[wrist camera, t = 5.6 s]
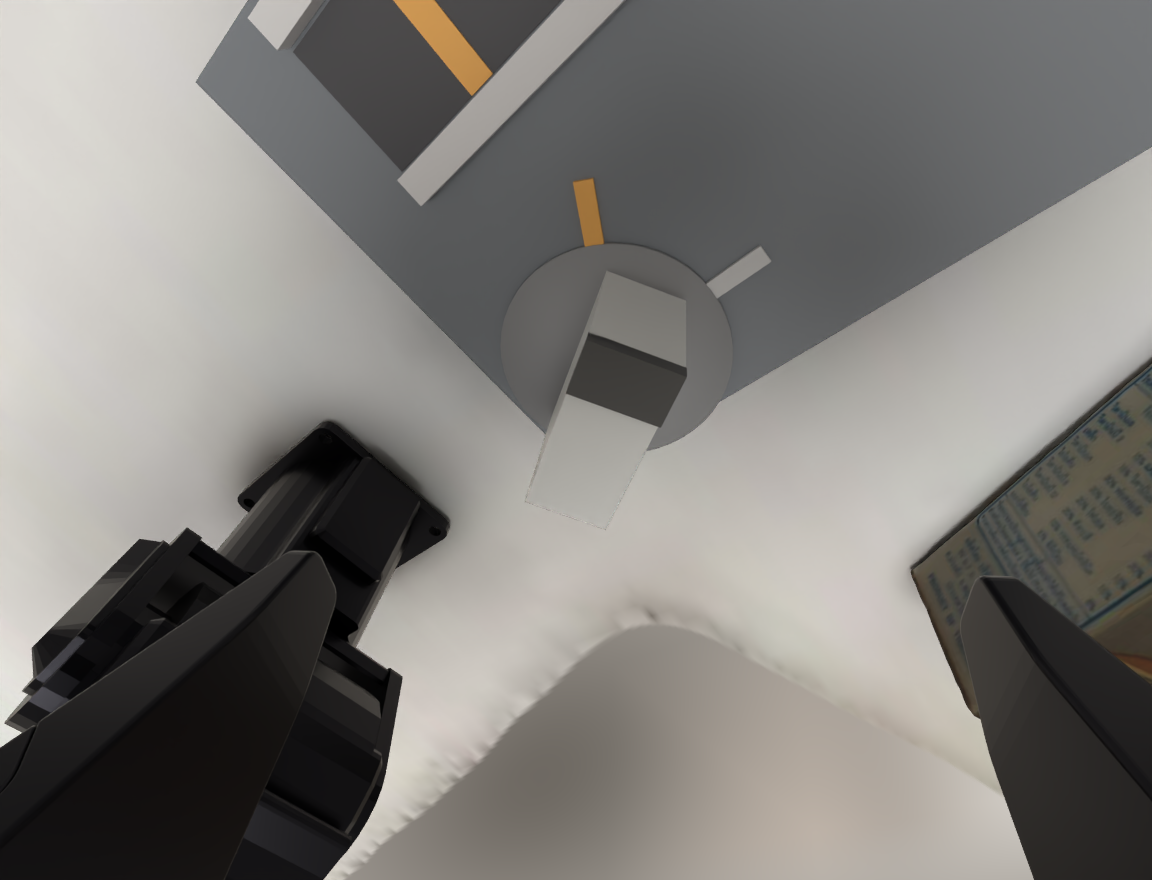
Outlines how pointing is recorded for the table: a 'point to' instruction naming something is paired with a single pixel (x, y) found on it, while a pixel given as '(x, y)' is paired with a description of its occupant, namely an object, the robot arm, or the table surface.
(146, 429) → the table surface
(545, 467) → the grey rectangular block
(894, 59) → the console board
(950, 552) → the weathered grey box
